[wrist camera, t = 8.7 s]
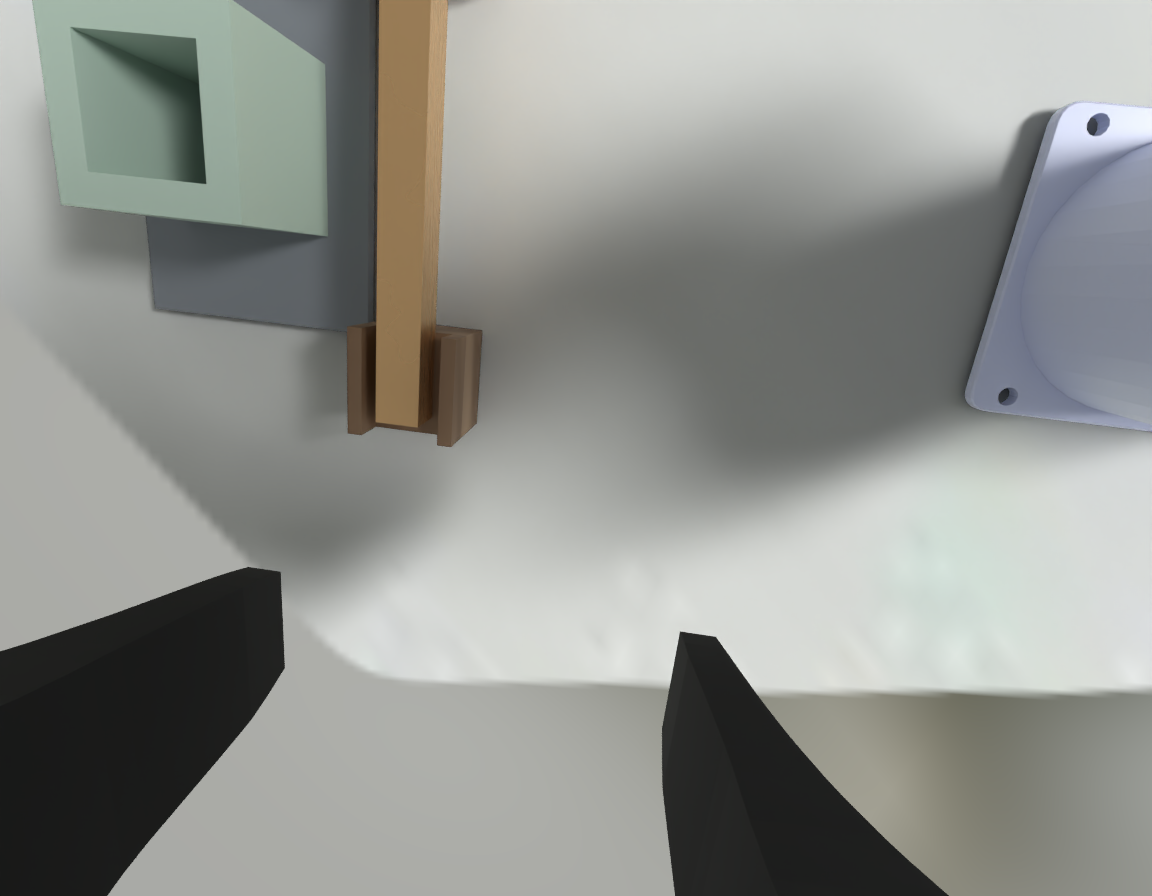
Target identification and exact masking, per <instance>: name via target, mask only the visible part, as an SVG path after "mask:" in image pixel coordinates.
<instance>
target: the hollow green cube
mask: <svg viewBox="0 0 1152 896" xmlns="http://www.w3.org/2000/svg"><path fill="white" fill-rule="evenodd" d="M32 3H33V10H34V17H35V24H36V32H37V39H38V46H39V53H40V60H41V67H42V74H43V81H44V88H45V96H46V103H47V110H48V117H49V124H50V131H51V138H52V145H53V152H54V160H55V167H56V174H57V181H58V188H59V195H60V202H61V205H66V206H74V207H81V208H89V209H97V210H105V211H113V212H121V213H128V214H136V215H144V216H152V217H160V218H168V219H176V220H183V221H192V222H201V223H210V224H219V225H228V226H237V227H246V228H255V229H265V230H274V231H283V232H292V233H301V234H310V235H319V236H328V200H327V140H326V80H325V64H324V63H322V62H321V61H320V60H318V59H317V58H315V57H314V56H312V55H311V54H309V53H308V52H307V51H305V50H304V49H302V48H301V47H299V46H298V45H296V44H295V43H294V42H292V41H291V40H289V39H288V38H286V37H285V36H283V35H282V34H281V33H279V32H278V31H276V30H275V29H273V28H272V27H270V26H269V25H268V24H266V23H265V22H263V21H262V20H260V19H259V18H258V17H256V16H255V15H253V14H252V13H250V12H249V11H247V10H246V9H245V8H243V7H242V6H240V5H239V4H237V3H236V2H234V1H233V0H32Z"/></svg>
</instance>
